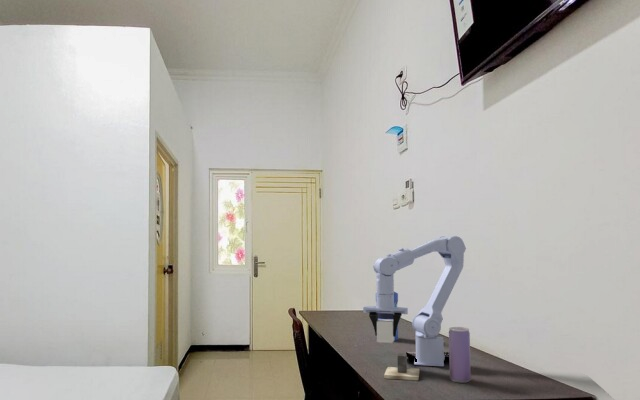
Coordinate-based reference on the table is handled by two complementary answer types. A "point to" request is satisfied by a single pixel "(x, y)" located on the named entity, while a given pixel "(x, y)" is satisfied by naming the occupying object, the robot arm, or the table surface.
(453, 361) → the beverage can
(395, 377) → the beige square base
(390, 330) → the white rectangular block
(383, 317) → the water bottle
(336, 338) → the table surface
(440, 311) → the robot arm
